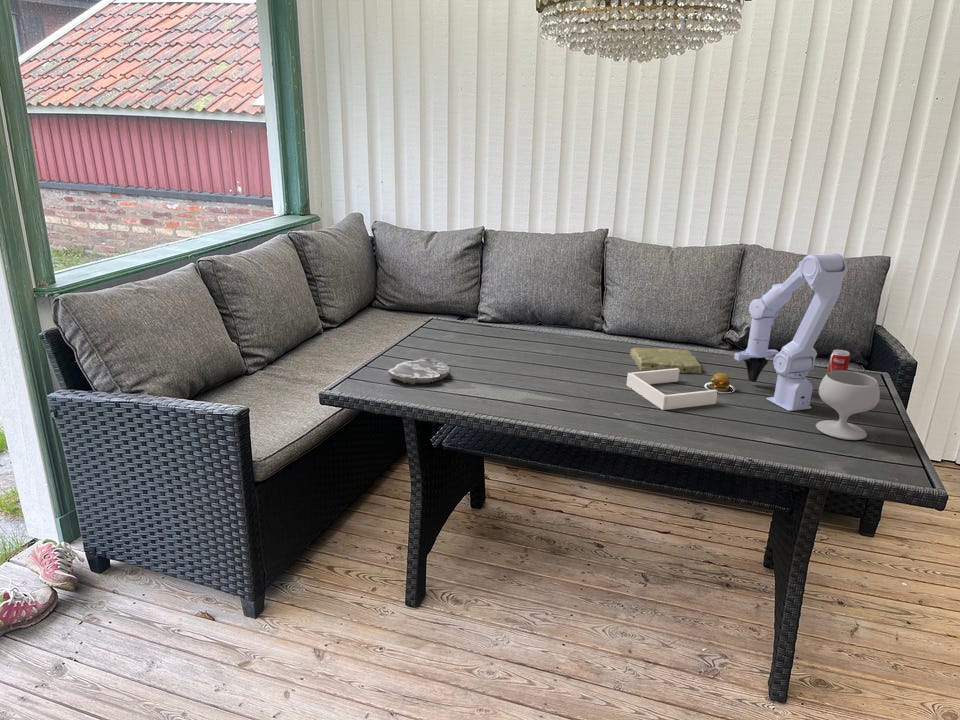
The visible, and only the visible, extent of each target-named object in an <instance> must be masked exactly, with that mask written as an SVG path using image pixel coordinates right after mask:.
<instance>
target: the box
mask: <svg viewBox="0 0 960 720" xmlns="http://www.w3.org/2000/svg"><path fill="white" fill-rule="evenodd" d="M679 375H680V373H679V369H678V368H674V369H664V370H653V371H636V372H632V371H631V372H627V378H626V387H628V388H630V389H631V388H632V389H631V390H633V392H636V393H637V394H639V395H640V396H641V395H642V396H641V397H643V398H644V399H646V400H647V401H649V402H650V403H651V404H653V405H654V406H656V407H657V408H659V409H661V410H662V411H666V410H676V409H682V408H683V409H684V408H692V407H700V406H701V407H702V406H710V405H716V404H717V399H718V393H717V392H719V391H718V390H715V389H709V390H708V389H707V390H701V391H692V392H691V391H690V392H683V393H681V392H680V393H673V394H665V393H663V392H661V390H658V389H656V388H655V387H654V386H652V385H655V384H656V385H657V384H664V383H673V382H674V383H675V382H677V383H678V382H679Z"/></svg>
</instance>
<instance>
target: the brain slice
mask: <svg viewBox="0 0 960 720" xmlns="http://www.w3.org/2000/svg"><path fill="white" fill-rule="evenodd" d="M450 372H451V367H450V366H448V364H447V363H446V362H445V361H444V360H441V359H437V358H434V357H424V358H420V359H417V360H409V361H403V362H400V363H398V364H396V365H395V367H391V368H390V369H388V370H387V373H388V375H389V377H390V378H392V379H394V380H395V379H396V380H395V381H398V380H399V382H401V381H402V382H401V383H404V384H405V383H408V384H409V383H410V384H409V385H416V384H415V383H422V384H431V383H430V382H432V383H434V381H435V382H436V381H440V380H443V379H444V378H446V377H447V376H448V375H449V373H450Z"/></svg>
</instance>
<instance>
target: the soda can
mask: <svg viewBox="0 0 960 720" xmlns="http://www.w3.org/2000/svg"><path fill="white" fill-rule="evenodd" d="M850 360H851V356H850V351H848V350H844V349H833V350H832V352H831V354H830V357H829V362H828V368H827V373H828V372H830V371H837V370H843V371H849V364H850ZM827 373H826V374H827Z"/></svg>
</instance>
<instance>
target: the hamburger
mask: <svg viewBox="0 0 960 720" xmlns="http://www.w3.org/2000/svg"><path fill="white" fill-rule="evenodd" d="M731 381H732V380H731V378H730V376H729V375H728V374H727V373H725V372H717V373H715V374H713V376H712V377H711V382H706V383H705V384H704V388H705V389H707V391H708V390H710V389H709V388H708V386H710V384H711V388H712V390H717V391H718V390H719V391H718V393H719V394H725V392H726V391H727V392H726V394H730V393H731V394H732V393H734V392H735V391H736V387H734V386H733V385H731V384H730V383H732V382H731ZM707 385H708V386H707ZM729 386H730V387H731V388H732V389H733V391H732V389H731V388H730V389H731V391H732V392H731V391H729V392H728V390H729ZM718 393H717V394H718Z"/></svg>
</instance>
